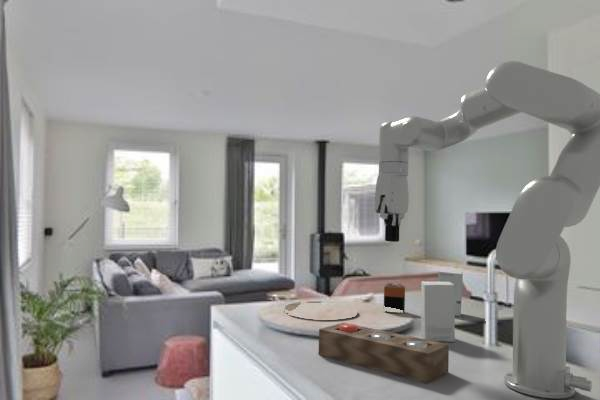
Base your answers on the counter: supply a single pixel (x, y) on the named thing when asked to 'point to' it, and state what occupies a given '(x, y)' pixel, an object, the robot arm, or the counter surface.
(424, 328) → the skincare box
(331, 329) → the block
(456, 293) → the skincare box
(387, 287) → the battery
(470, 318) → the counter surface
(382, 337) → the plug
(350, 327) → the red plug
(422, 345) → the plug
